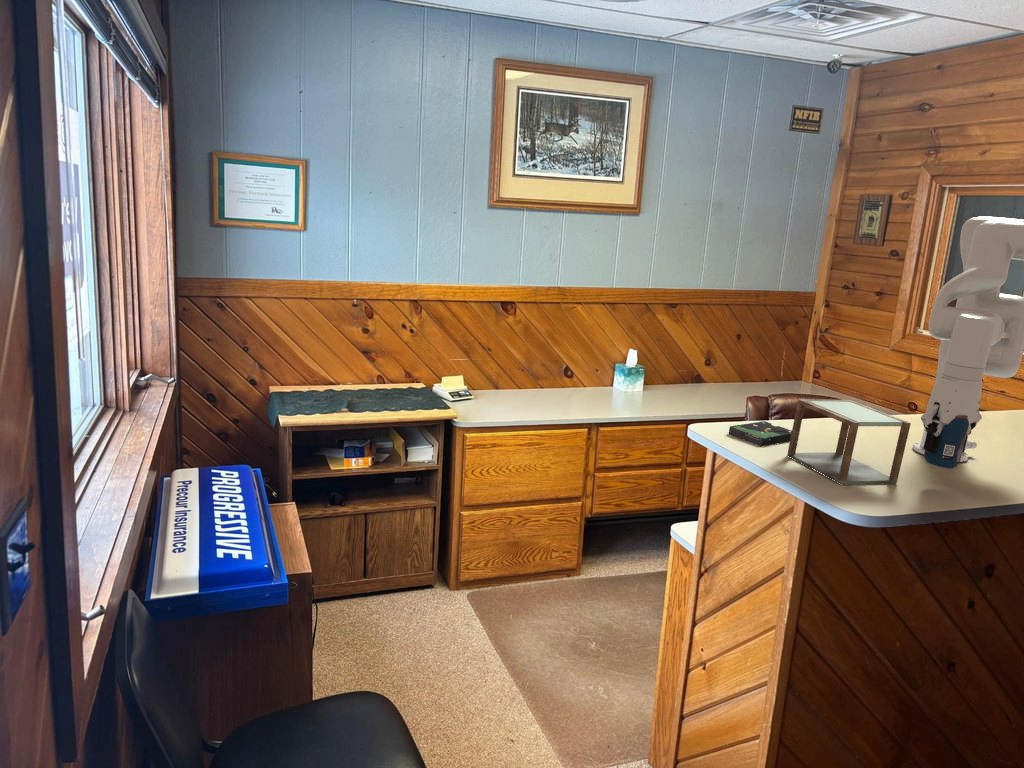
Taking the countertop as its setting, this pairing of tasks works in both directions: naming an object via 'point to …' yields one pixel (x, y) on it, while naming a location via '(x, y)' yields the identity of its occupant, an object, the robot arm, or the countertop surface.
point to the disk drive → (761, 433)
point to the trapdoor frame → (845, 450)
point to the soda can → (949, 444)
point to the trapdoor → (858, 413)
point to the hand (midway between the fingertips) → (943, 450)
